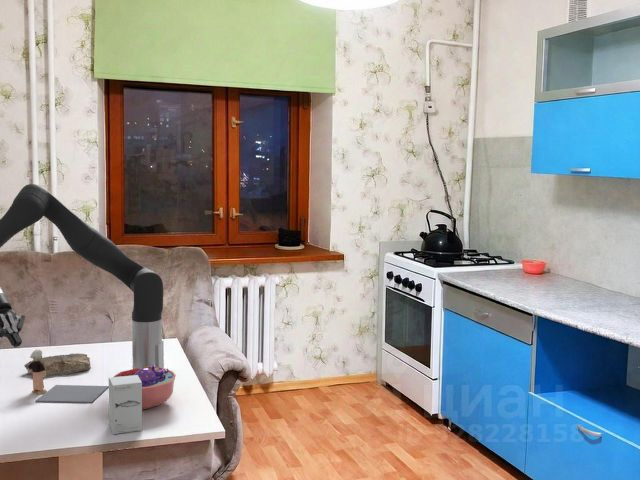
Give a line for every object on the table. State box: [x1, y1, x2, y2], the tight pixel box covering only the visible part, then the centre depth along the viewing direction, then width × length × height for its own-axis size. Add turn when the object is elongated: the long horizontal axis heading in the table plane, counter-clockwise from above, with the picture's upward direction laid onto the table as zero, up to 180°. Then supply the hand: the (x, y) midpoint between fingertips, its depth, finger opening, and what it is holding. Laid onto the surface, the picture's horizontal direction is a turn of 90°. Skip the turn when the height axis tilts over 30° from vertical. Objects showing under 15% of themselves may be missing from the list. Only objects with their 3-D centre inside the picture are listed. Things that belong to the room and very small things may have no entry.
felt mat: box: [35, 384, 109, 404], centre depth 195 cm, size 16×14×1 cm
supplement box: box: [108, 375, 143, 435], centre depth 169 cm, size 7×7×13 cm
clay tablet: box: [23, 352, 92, 377], centre depth 218 cm, size 14×5×20 cm
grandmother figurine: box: [27, 349, 48, 395], centre depth 196 cm, size 8×4×13 cm, turn 71°
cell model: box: [113, 365, 177, 410], centre depth 186 cm, size 17×20×11 cm
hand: (18, 345), depth 199 cm, fingers closed
